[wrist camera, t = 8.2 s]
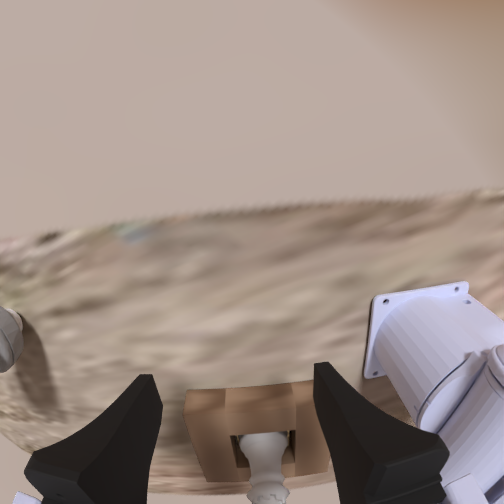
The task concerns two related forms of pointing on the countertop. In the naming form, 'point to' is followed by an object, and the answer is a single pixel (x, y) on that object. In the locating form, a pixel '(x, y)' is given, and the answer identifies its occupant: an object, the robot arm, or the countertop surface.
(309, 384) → the socket block
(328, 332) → the countertop surface
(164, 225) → the countertop surface
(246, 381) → the countertop surface
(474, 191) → the countertop surface
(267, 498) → the rook chess piece
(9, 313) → the light bulb
